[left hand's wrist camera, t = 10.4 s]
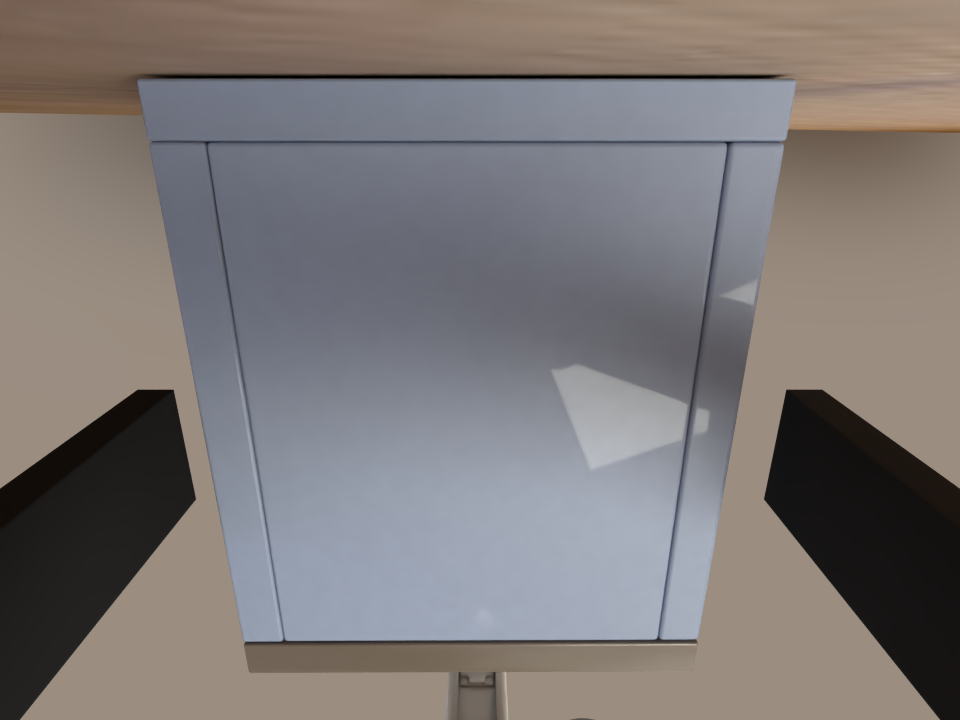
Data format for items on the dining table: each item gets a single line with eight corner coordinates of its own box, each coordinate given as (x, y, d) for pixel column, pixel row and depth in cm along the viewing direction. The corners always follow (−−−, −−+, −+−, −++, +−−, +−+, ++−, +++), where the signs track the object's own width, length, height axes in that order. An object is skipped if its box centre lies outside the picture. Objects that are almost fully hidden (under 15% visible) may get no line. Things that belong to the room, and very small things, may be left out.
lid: (581, 377, 27) (571, 524, 29) (367, 378, 27) (378, 525, 29) (699, 643, 12) (657, 875, 15) (242, 645, 12) (287, 878, 15)
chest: (601, 117, 22) (583, 380, 26) (345, 118, 22) (365, 381, 26) (799, 78, 9) (699, 641, 12) (134, 77, 9) (242, 642, 12)
